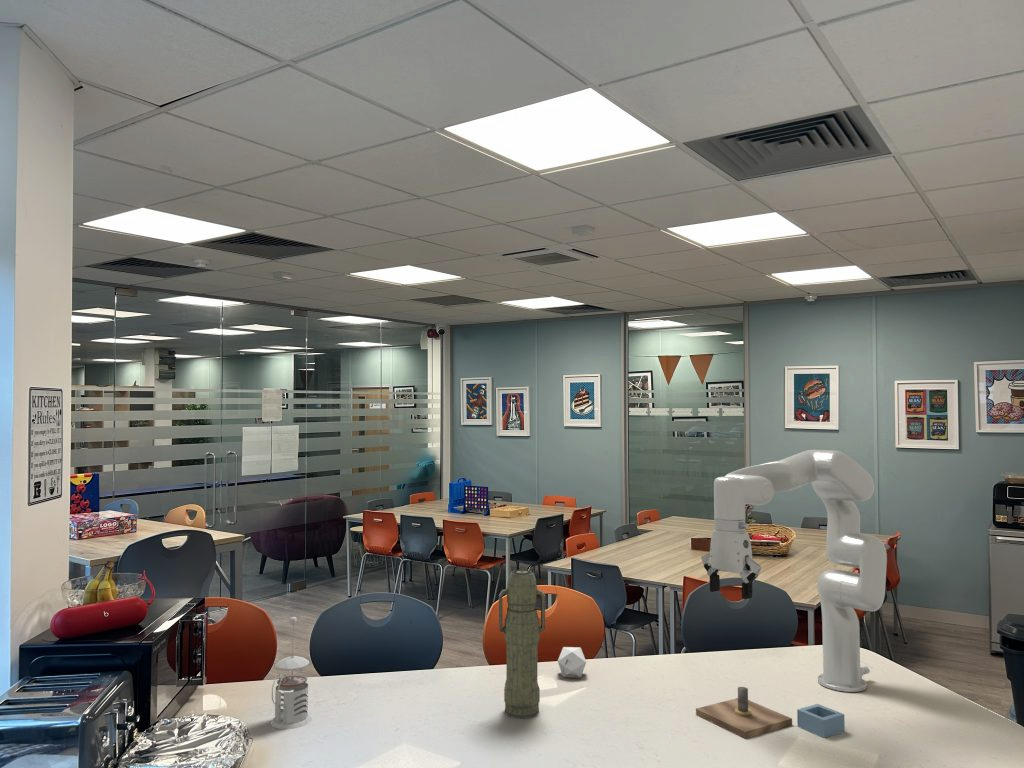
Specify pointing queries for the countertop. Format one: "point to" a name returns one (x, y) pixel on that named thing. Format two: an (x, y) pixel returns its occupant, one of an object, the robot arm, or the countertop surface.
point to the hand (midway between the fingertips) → (730, 594)
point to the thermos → (522, 643)
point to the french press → (291, 693)
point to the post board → (743, 716)
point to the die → (572, 662)
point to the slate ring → (820, 720)
